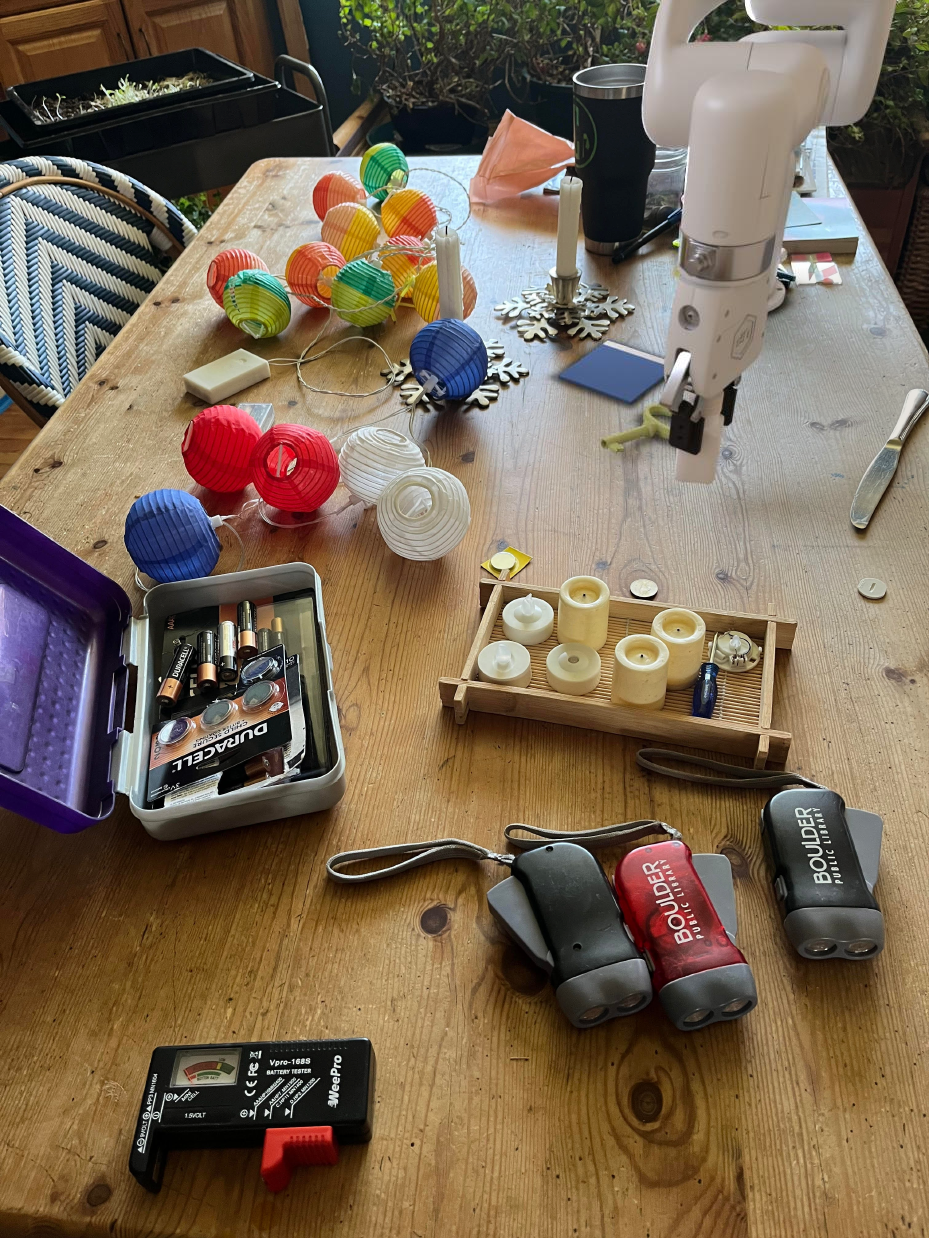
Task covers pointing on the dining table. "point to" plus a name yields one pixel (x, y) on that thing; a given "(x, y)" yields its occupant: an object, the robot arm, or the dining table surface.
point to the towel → (617, 371)
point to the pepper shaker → (703, 445)
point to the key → (640, 429)
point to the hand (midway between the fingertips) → (700, 433)
